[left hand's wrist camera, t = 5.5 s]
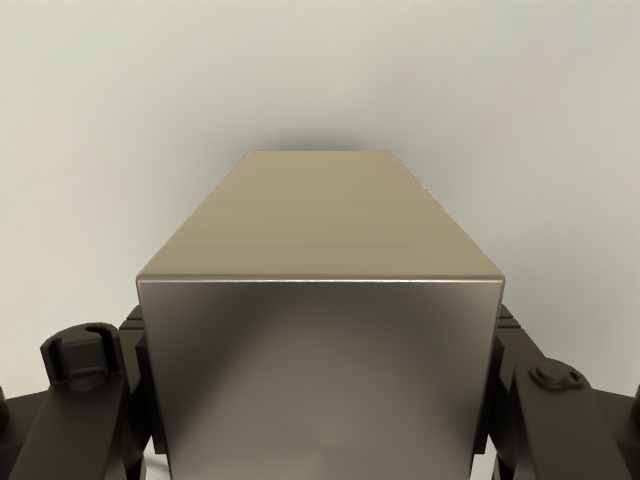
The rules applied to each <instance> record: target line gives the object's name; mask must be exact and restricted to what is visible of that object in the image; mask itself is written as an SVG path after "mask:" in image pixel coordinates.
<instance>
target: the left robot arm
mask: <svg viewBox="0 0 640 480" xmlns="http://www.w3.org/2000/svg"><path fill="white" fill-rule="evenodd" d="M40 350H41V354H42V357H43V361H44V364H45V368H46V371H47V374H48V378H49V381H50V387H49V389H48V390H46V391H43V392H39V393H34V394H29V395H25V396H20V397H15V398H10V399H5V396H4V393H3V391H2V388H1V386H0V480H145V478H146V465H145V459H144V454H143V452H144V450H145V448H146V446H147V443H148V441H149V439H150V437H151V435H152V439H153V445H154V450H155V454H166V449H165V444H164V438H163V432H162V427H161V421H160V416H159V410H158V404H157V399H156V393H155V388H154V382H153V376H152V371H151V365H150V359H149V354H148V348H147V343H146V337H145V331H144V326H143V320H142V315H141V309H140V304H139V305H138V306H136V307H135V308H134V309H133V311H132V312H131V313H130V315H129V316H128V317H127V320H125V321H124V322H123V323H122V325H121V326H120V327H119V330H118V329H117V328H116V327H114V326H113V325H111V324H107V323H102V322H99V323H86V324H81V325H77V326H73V327H70V328H68V329H65V330H63V331H60V332H58V333H56V334H55V335H53V336H52V337H50V338H49V339H47V340H46V341H45V342H44V344H43V345H42V346H41V347H40ZM488 433H489V435H490V438H491V440H492V442H493V444H494V446H495V448H496V450H497V454H496V459H495V464H494V469H493V474H492V478H491V480H640V385H639V387H638V389H637V392H636V395H635V398H634V397H629V396H624V395H620V394H615V393H610V392H605V391H600V390H597V389H593V388H591V386H590V384H589V382H588V381H587V380H586V378H585V377H584V376H583V375H582V374H581V373H580V372H578V371H577V370H576V369H574V368H573V367H571V366H569V365H567V364H565V363H563V362H560V361H558V360H554V359H550V358H546V357H545V356H544V355H543V353H542V352H541V351H540V350H539V348H538V347H537V346H536V345H535V343H534V342H533V341H532V340H531V338H530V337H529V336H528V335H527V333H526V332H525V331H524V329H521V326H520V324H519V323H518V322H517V321H516V319H513V316H512V314H511V313H510V312H509V311H508V309H507V308H506V307H505V306H504V305H503V304H501V308H500V314H499V319H498V325H497V331H496V336H495V342H494V347H493V353H492V358H491V364H490V370H489V375H488V381H487V386H486V392H485V398H484V403H483V409H482V414H481V420H480V425H479V431H478V437H477V442H476V448H475V453H474V454H485V448H486V443H487V438H488Z"/></svg>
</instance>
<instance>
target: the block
mask: <svg viewBox="0 0 640 480" xmlns="http://www.w3.org/2000/svg"><path fill="white" fill-rule="evenodd" d="M504 286H505V277H504V275H503V274H502V272H501V271H500V270H499V269H498V268H497V267H496V266H495V265H494V264H493V263H492V262H491V260H490V259H489V258H488V257H487V256H486V255H485V254H484V253H483V252H482V251H481V249H480V248H479V247H478V246H477V245H476V244H475V243H474V242H473V241H472V240H471V239H470V237H469V236H468V235H467V234H466V233H465V232H464V231H463V230H462V229H461V228H460V226H459V225H458V224H457V223H456V222H455V221H454V220H453V219H452V218H451V217H450V216H449V214H448V213H447V212H446V211H445V210H444V209H443V208H442V207H441V206H440V205H439V204H438V202H437V201H436V200H435V199H434V198H433V197H432V196H431V195H430V194H429V193H428V191H427V190H426V189H425V188H424V187H423V186H422V185H421V184H420V183H419V182H418V181H417V179H416V178H415V177H414V176H413V175H412V174H411V173H410V172H409V171H408V170H407V168H406V167H405V166H404V165H403V164H402V163H401V162H400V161H399V160H398V159H397V158H396V156H395V155H394V154H393V153H392V152H391V151H249V152H248V154H247V155H246V156H245V157H244V158H243V159H242V160H241V161H240V162H239V163H238V165H237V166H236V167H235V168H234V169H233V170H232V171H231V172H230V173H229V174H228V176H227V177H226V178H225V179H224V180H223V181H222V182H221V183H220V184H219V185H218V187H217V188H216V189H215V190H214V191H213V192H212V193H211V194H210V195H209V196H208V198H207V199H206V200H205V201H204V202H203V203H202V204H201V205H200V206H199V207H198V209H197V210H196V211H195V212H194V213H193V214H192V215H191V216H190V217H189V218H188V220H187V221H186V222H185V223H184V224H183V225H182V226H181V227H180V228H179V229H178V231H177V232H176V233H175V234H174V235H173V236H172V237H171V238H170V239H169V240H168V242H167V243H166V244H165V245H164V246H163V247H162V248H161V249H160V250H159V251H158V253H157V254H156V255H155V256H154V257H153V258H152V259H151V260H150V261H149V262H148V264H147V265H146V266H145V267H144V268H143V269H142V270H141V271H140V272H139V273H138V275H137V276H136V287H137V292H138V298H139V303H140V309H141V315H142V320H143V326H144V331H145V337H146V343H147V348H148V354H149V359H150V365H151V371H152V376H153V382H154V388H155V393H156V399H157V404H158V410H159V416H160V421H161V427H162V432H163V438H164V444H165V449H166V455H167V460H168V466H169V472H170V477H171V480H470V476H471V470H472V465H473V459H474V453H475V448H476V442H477V437H478V431H479V425H480V420H481V414H482V409H483V403H484V398H485V392H486V386H487V381H488V375H489V370H490V364H491V358H492V353H493V347H494V342H495V336H496V331H497V325H498V319H499V314H500V308H501V303H502V297H503V291H504Z"/></svg>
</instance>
